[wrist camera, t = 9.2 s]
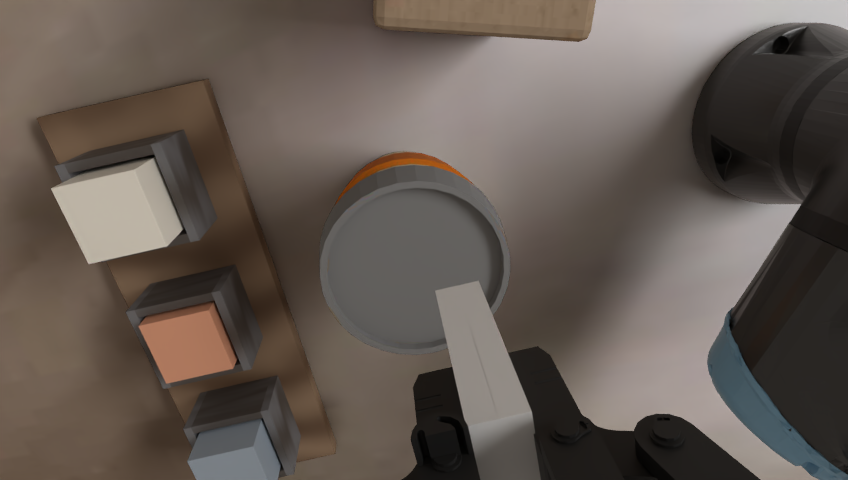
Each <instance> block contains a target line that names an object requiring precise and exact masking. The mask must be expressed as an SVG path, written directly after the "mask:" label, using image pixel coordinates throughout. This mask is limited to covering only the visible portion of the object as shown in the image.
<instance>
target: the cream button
mask: <svg viewBox="0 0 848 480" xmlns="http://www.w3.org/2000/svg"><path fill="white" fill-rule="evenodd" d="M51 190H52V192H53V194H54V196H55V198H56V200H57V202H58V204H59V206H60V208H61V210H62V212H63V214H64V216H65V218H66V220H67V222H68V224H69V226H70V228H71V230H72V232H73V234H74V236H75V238H76V240H77V242H78V244H79V246H80V248H81V250H82V252H83V254H84V256H85V258H86V260H87V262H88V264H91V263H96V262H100V261H105V260H109V259H114V258H118V257H122V256H127V255H131V254H136V253H140V252H144V251H149V250H153V249H158V248H162V247H167V246H168V245H169V244H170V243H171V242H172V241H173V240H174V239H175V238H176V237H177V236H178V234H179V233H180V232H181V231H182V230H183V229H184V228H185V227H184V225H183V223H182V220H181V218H180V215H179V213H178V210H177V208H176V206H175V203H174V201H173V198H172V196H171V193H170V191H169V188H168V186H167V184H166V181H165V179H164V176H163V174H162V171H161V169H160V167H159V164H158V162H157V159H156V157H155V155H150V156H146V157H142V158H137V159H133V160H128V161H124V162H119V163H115V164H111V165H106V166H102V167H97V168H93V169H89V170H87V171H85V172H83V173H81V174H79V175H77V176H75V177H73V178H71V179H69V180H67V181H65V182H63V183H61V184H59V185H57V186H55V187H53V188H51Z"/></svg>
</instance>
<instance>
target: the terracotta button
mask: <svg viewBox="0 0 848 480" xmlns="http://www.w3.org/2000/svg"><path fill="white" fill-rule="evenodd" d="M139 328H140V330H141V333H142V335H143V337H144V339H145V341H146V343H147V345H148V347H149V349H150V351H151V353H152V355H153V357H154V359H155V361H156V363H157V366H158V368H159V370H160V372H161V374H162V376H163V378H164V380H165V382H166V384H167V383H172V382H176V381H181V380H185V379H190V378H194V377H198V376H203V375H207V374H212V373H216V372H220V371H225V370H229V369H233V368H234V366H235V363H236V361H237V358H238V356H237V354H236V351H235V349H234V347H233V344H232V342H231V339H230V337H229V334H228V332H227V330H226V327H225V325H224V322H223V320H222V317H221V315H220V313H219V310H218V308H217V305H216V303H215V300H214V301H209V302H205V303H201V304H196V305H192V306H187V307H183V308H178V309H174V310H170V311H165V312H161V313H156V314H152V315H148V316H146V317H145V318H144V320H143V321H142V322H141V323H140V325H139Z"/></svg>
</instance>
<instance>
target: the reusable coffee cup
mask: <svg viewBox="0 0 848 480" xmlns="http://www.w3.org/2000/svg"><path fill="white" fill-rule="evenodd" d="M319 268H320V280H321V286H322V292H323V295H324V297H325V300H326V302H327V304H328V307H329V309H330V310H331V312H332V313H333V315H334V316H335V318H336V319H337V321H338V322H339V323H340V324H341V325H342V326H343V327H344V328H345V329H346V330H347V331H348V332H349V333H350V334H351V335H353V336H354V337H356V338H357V339H359V340H361V341H362V342H364V343H365V344H368V345H370V346H372V347H375V348H377V349H380V350H383V351H387V352H392V353H396V354H411V355H418V354H426V353H434V352H437V351H440V350H444V349H447V348H448V346H447V341H446V337H445V332H444V328H443V323H442V319H441V315H440V310H439V306H438V301H437V297H436V292H435V291H436V290H440V289H444V288H449V287H453V286H458V285H462V284H466V283H471V282H475V281H479V283H480V286H481V288H482V290H483V293H484V295H485V298H486V300H487V303H488V305H489V308H490V310H491V313H492V315H494V313H495V312H496V310H497V309H498V307H499V306H500V304H501V302H502V300H503V297H504V295H505V292H506V290H507V287H508V282H509V276H510V252H509V248H508V244H507V240H506V237H505V233H504V230H503V227H502V224H501V221H500V219H499V217H498V215H497V213H496V211H495V209H494V207H493V205H492V204H491V203H490V201H489V200H488V199H487V198H486V196H485V195H484V194H483V193H482V192H481V191H480V190H479V189H478V188H477V187H475V186H474V185H473V184H472V182H470V181H469V180H468V179H467V178H466V177H464V176H463V175H462V174H461V173H460V172H458V171H457V170H455V169H454V168H452V167H451V166H450V165H448V164H447V163H445V162H443V161H441V160H439V159H437V158H435V157H432V156H429V155H425V154H422V153H416V152H408V151H401V152H393V153H390V154H387V155H384V156H382V157H380V158H378V159H376V160H375V161H373V162H371V163H369V164H367V165H366V166H365V167H364V168H363V169H361V170H360V171H359V172H358V173H357V174H356V175H355V176H354V177H353V179H352V180H351V181H350V182H349V184H348V185H347V186H346V188H345V189H344V191H343V192H342V193H341V195H340V196H339V198H338V200H337V202H336V204H335V206H334V207H333V209H332V210H331V212H330V214H329V216H328V218H327V220H326V222H325V224H324V228H323V232H322V235H321V239H320V253H319Z"/></svg>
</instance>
